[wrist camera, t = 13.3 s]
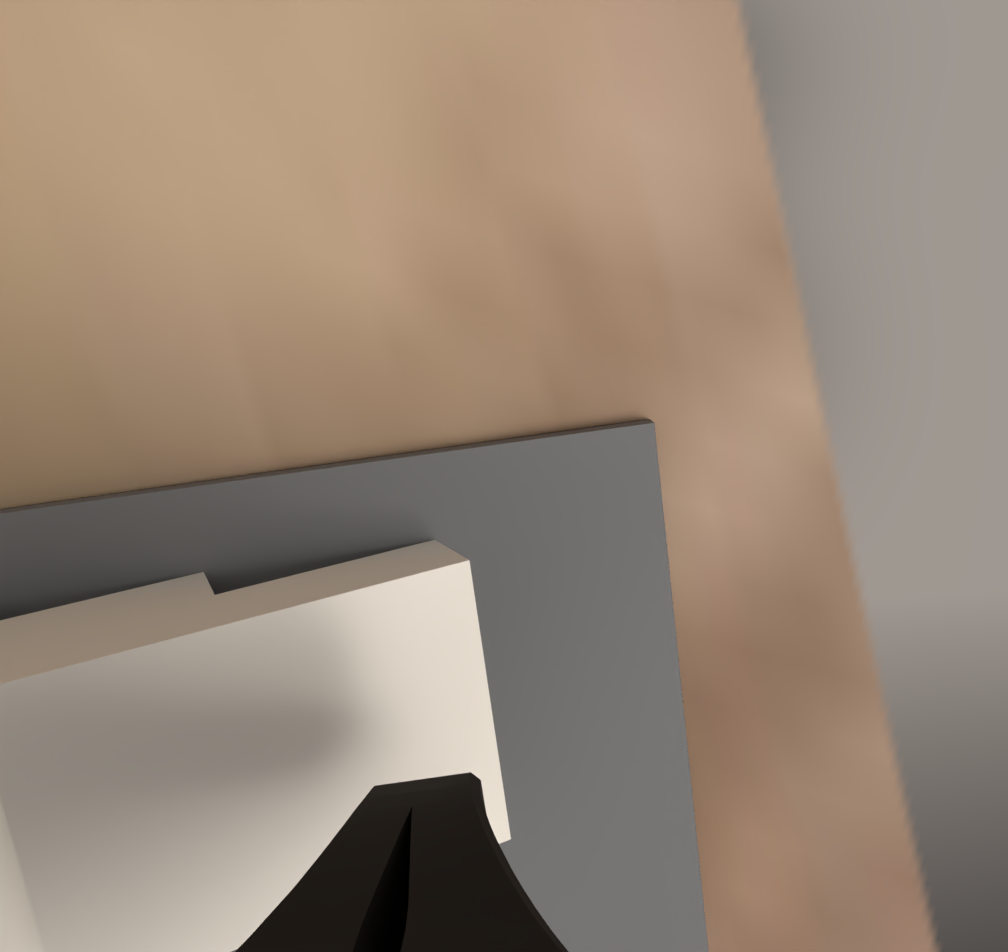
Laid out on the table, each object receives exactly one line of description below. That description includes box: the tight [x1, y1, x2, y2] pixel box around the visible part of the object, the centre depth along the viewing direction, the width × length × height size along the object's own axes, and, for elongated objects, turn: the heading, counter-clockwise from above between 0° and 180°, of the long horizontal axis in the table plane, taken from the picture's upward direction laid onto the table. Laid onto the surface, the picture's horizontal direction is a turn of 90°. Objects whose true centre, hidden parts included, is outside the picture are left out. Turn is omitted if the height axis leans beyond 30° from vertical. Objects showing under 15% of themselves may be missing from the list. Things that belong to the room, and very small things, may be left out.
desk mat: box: [0, 419, 708, 952], centre depth 17 cm, size 22×15×1 cm
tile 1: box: [0, 540, 511, 952], centre depth 14 cm, size 2×5×7 cm
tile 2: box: [0, 572, 215, 952], centre depth 14 cm, size 2×5×7 cm
